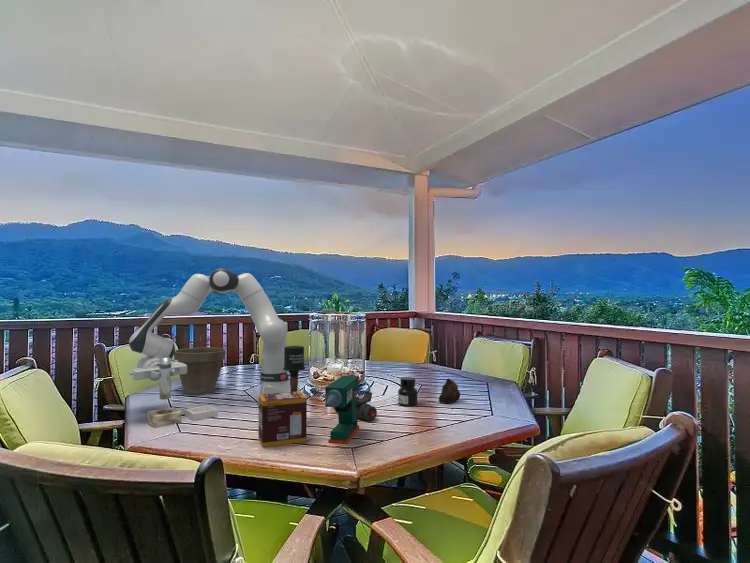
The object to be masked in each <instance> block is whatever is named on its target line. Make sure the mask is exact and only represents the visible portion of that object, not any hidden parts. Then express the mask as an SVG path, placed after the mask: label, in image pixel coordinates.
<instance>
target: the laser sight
mask: <svg viewBox="0 0 750 563" xmlns="http://www.w3.org/2000/svg"><path fill="white" fill-rule="evenodd" d="M372 396H373V392H370V391H367V390H366V391H365V394H364V396H362V397H361V398H360V397H357V395H356V396H355V400H356V417H357V418H358V420H362V421H368V422H373V421H374V420H375V419H376V417H377V415H378V411H377V408H376V407H375V406H373V405H371V404H370V403H371V402H372ZM332 408H333V409H334V410H335V411H336V407H332Z"/></svg>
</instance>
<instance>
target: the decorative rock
mask: <svg viewBox="0 0 750 563" xmlns="http://www.w3.org/2000/svg"><path fill="white" fill-rule="evenodd" d="M441 388H442V389H441V393H440V395H439V397H438V403H439V404H448V403H455V402H457V401H459V400H460V397H461V392H460V390H459V386H458V384H457V383H456V382H455V381H454V380H451V378H447V379H446V381H445V384H443V385H442V387H441Z"/></svg>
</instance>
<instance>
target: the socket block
mask: <svg viewBox="0 0 750 563" xmlns="http://www.w3.org/2000/svg"><path fill="white" fill-rule="evenodd" d="M146 411H147V410H146ZM146 422H147V423H148V424H149V423H150V424H151V426H152V427H153V428H159V426H160V427H164V426H163V425H165V426H169V424H170V425H175V423H176V424H180V423H182V411H180V410H178V409H177V408H175V407H174V406H172V407H166V408H159V409H154V410H150V411H149V410H148V411H147V412H146ZM150 424H149V425H150Z"/></svg>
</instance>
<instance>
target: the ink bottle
mask: <svg viewBox="0 0 750 563" xmlns="http://www.w3.org/2000/svg"><path fill="white" fill-rule="evenodd" d="M397 396H398V397H397V399H398V400H397V401H398V403H397V404H398V406H400V407H401V406H402V407H414V406H415V407H416V406H418V390H417V389H416V378H415V377H410V376H403V377H400V388H398V391H397Z"/></svg>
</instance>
